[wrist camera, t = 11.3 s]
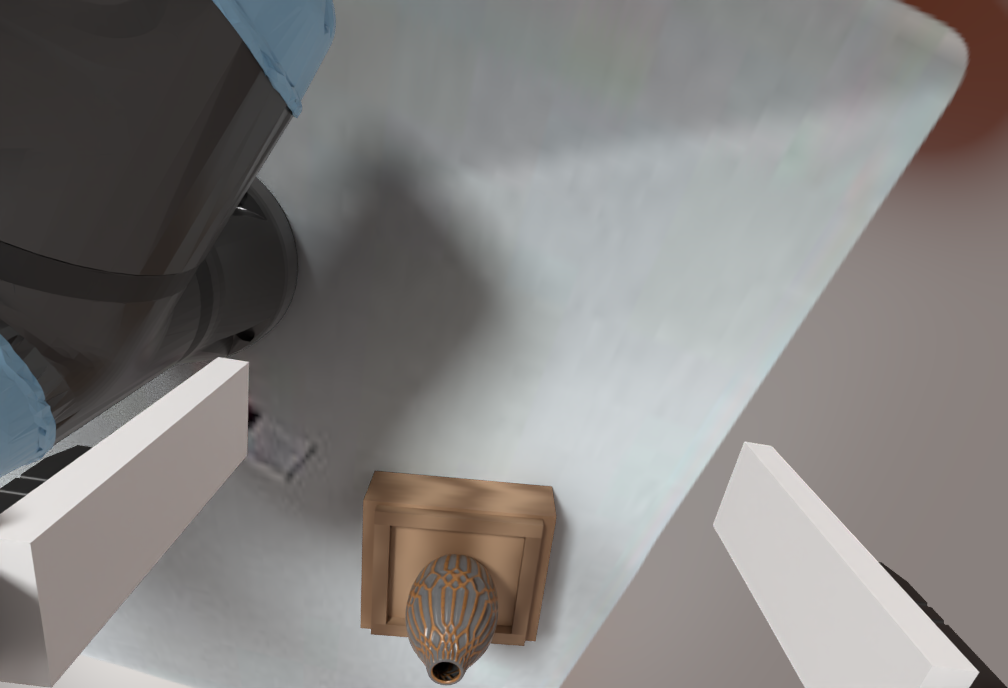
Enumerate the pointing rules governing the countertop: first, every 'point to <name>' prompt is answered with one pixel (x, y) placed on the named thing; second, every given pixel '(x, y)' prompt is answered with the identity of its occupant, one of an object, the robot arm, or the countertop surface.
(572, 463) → the countertop surface
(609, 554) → the countertop surface
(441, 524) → the brown wooden flat box
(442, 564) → the vase
